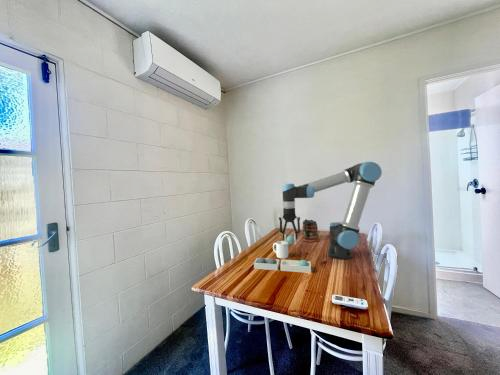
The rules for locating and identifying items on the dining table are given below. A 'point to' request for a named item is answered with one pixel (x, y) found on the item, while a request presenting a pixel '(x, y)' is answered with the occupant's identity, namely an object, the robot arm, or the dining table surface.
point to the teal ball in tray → (303, 263)
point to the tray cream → (295, 266)
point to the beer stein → (310, 231)
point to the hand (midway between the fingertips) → (290, 243)
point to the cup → (281, 249)
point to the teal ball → (290, 239)
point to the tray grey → (266, 265)
